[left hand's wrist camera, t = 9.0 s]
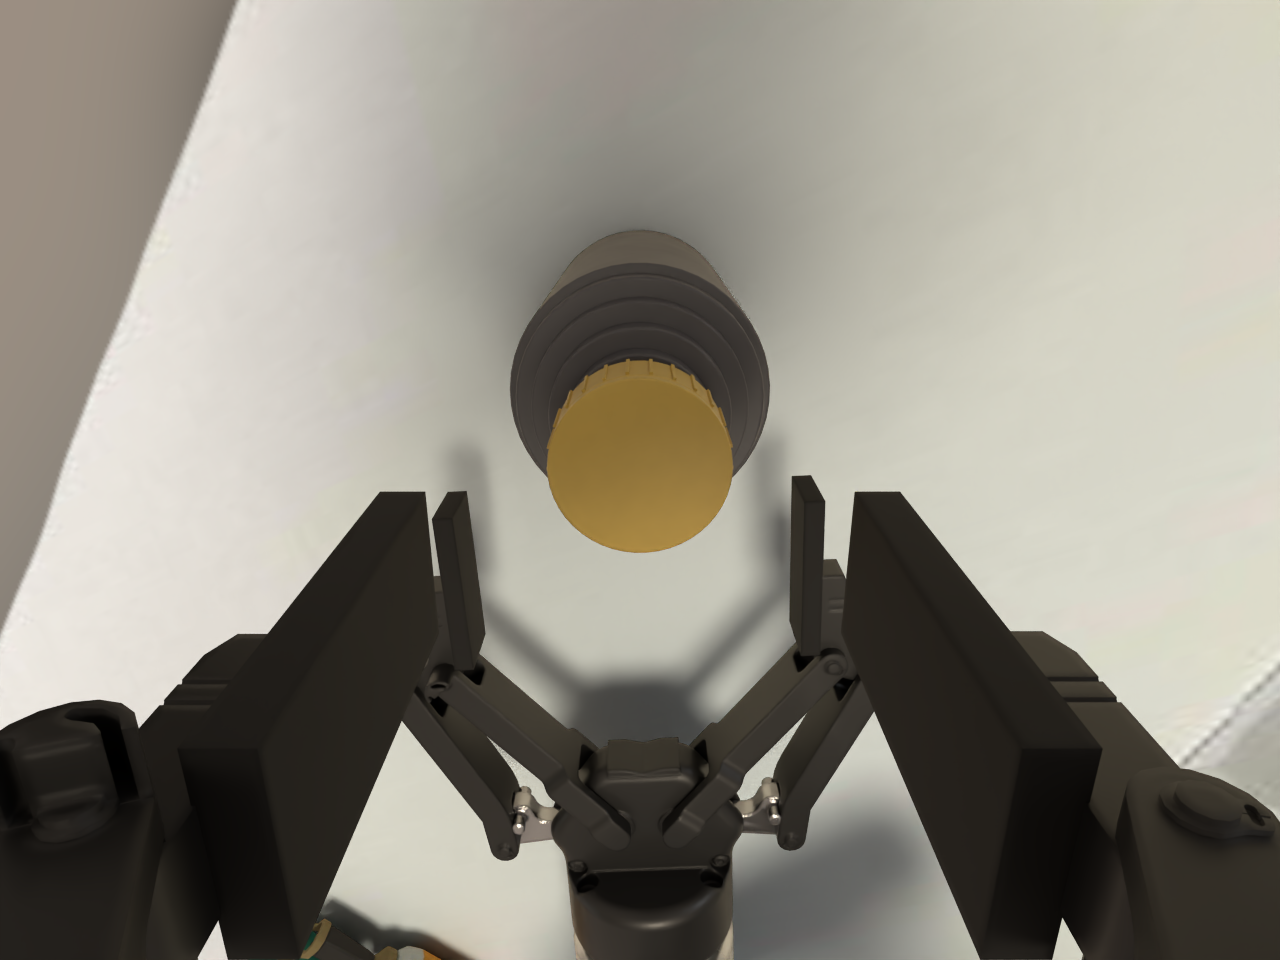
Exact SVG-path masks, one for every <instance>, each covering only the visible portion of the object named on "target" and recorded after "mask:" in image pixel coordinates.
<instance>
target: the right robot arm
mask: <svg viewBox="0 0 1280 960" xmlns="http://www.w3.org/2000/svg"><path fill="white" fill-rule="evenodd" d="M432 523H433V530H434V536H435V543H436V550H437V556H438V563H439V570H440V576H434V586H435V596H436V607H437V617H438V627H439V634H438V637H437V639H436V641H435V644H434V646H433V648H432V651H431V653H430V656H429V658H428V660H427V663H426V665H425V667H424V670H423V672H422V674H421V677H420V679H419V681H418V684H417V686H416V688H415V691H414V693H413V695H412V698H411V700H410V702H409V705H408V707H407V709H406V712H405V714H404V716H403V719H402V721H403V723H404V724H405V725H406V726H407V728H408V729H409V730H410V731H411V733H412V734H413V735H414V736H415V738H416V739H417V740H418V741H419V743H420V744H421V745H422V747H423V748H424V749H425V750H426V752H427V753H428V754H429V755H430V757H431V758H432V759H433V760H434V762H435V763H436V764H437V765H438V767H439V768H440V769H441V770H442V772H443V773H444V774H445V775H446V777H447V778H448V779H449V780H450V782H451V783H452V784H453V785H454V787H455V788H456V789H457V790H458V792H459V793H460V794H461V795H462V797H463V798H464V799H465V800H466V802H467V803H468V804H469V805H470V807H471V808H472V809H473V810H474V812H475V813H476V814H477V815H478V817H479V818H480V819H481V821H482V822H483V825H484V828H485V832H486V835H487V838H488V842H489V845H490V849H491V852H492V854H493V855H494V856H495V857H496V858H497V859H500V860H504V861H508V860H512V859H514V858H515V857H516V856H517V854H518V852H519V847H520V843H528V842H536V841H543V840H551V839H553V840H554V841H555V843H556V844H557V845H558V846H559V847H560V849H561V850H562V851H563V853H564V855H565V858H566V865H567V874H568V884H569V893H570V903H571V912H572V921H573V927H574V943H575V951H576V959H577V960H734V950H733V921H732V915H733V882H732V850H733V847H734V844H735V843H736V841H737V840H738V838H739V837H740V835H741V833H760V834H776V836H777V841H778V844H779V846H780V847H781V848H783V849H784V850H789V851H791V850H796V849H799V848H800V847H801V846H802V845H803V844H804V842H805V839H806V833H807V827H808V821H809V816H810V810H811V808H812V807H813V805H814V804H815V802H816V801H817V799H818V797H819V796H820V794H821V793H822V791H823V790H824V788H825V787H826V785H827V784H828V782H829V780H830V779H831V777H832V776H833V774H834V773H835V771H836V770H837V768H838V766H839V765H840V763H841V762H842V760H843V759H844V757H845V756H846V754H847V752H848V751H849V749H850V748H851V746H852V745H853V743H854V742H855V740H856V739H857V737H858V735H859V734H860V732H861V731H862V729H863V728H864V726H865V725H866V723H867V721H868V720H869V718H870V717H871V715H872V714H873V712H874V709H873V707H872V705H871V702H870V700H869V698H868V695H867V693H866V691H865V688H864V686H863V684H862V681H861V679H860V677H859V674H858V672H857V670H856V667H855V665H854V663H853V660H852V658H851V656H850V653H849V651H848V649H847V646H846V644H845V641H844V639H843V637H842V634H841V627H842V617H843V606H844V596H845V586H846V578H845V576H844V574H843V572H842V570H841V568H840V566H839V564H838V562H837V560H836V559H826V560H823V555H824V524H825V500H824V498H823V496H822V495H821V493H820V491H819V489H818V487H817V485H816V484H815V482H814V480H813V478H812V476H811V475H808V476H792V498H791V558H790V619H789V621H790V624H791V627H792V630H793V633H794V636H795V639H796V643H795V644H794V645H793V646H792V647H791V648H790V649H789V650H788V651H787V652H786V653H785V654H784V655H783V656H782V657H781V659H780V660H779V661H778V662H777V663H776V664H775V665H774V666H773V667H772V668H771V669H770V670H769V671H768V672H767V673H766V674H765V675H764V676H763V677H762V678H761V679H760V680H759V681H758V682H757V683H756V684H755V686H754V687H753V688H752V689H751V690H750V691H749V692H748V693H747V694H746V695H745V696H744V697H743V698H742V699H741V700H740V701H739V702H738V703H737V704H736V705H735V706H734V707H733V708H732V709H731V710H730V712H729V713H728V714H727V715H726V716H725V717H724V718H723V719H722V720H721V721H720V722H719V723H717V724H716V723H711V724H710V725H708V726H707V727H706V728H705V730H704V731H703V732H702V733H701V734H700V735H699V736H698V737H697V738H696V739H695V740H694V741H693V742H692V743H691V744H690V745H689V746H688V745H686V744H683V743H679V742H678V737H673V738H659V739H655V740H651V741H648V742H637V741H631V740H626V739H623V740H608V746H605V747H602V748H600V749H599V748H598V747H596V746H595V745H594V744H593V743H592V742H591V741H589V740H588V739H587V738H586V737H585V736H584V735H583V734H581V733H580V732H579V731H578V730H576V729H574V728H572V729H567V728H565V727H564V726H563V725H562V724H561V723H559V722H558V721H557V720H556V719H555V718H554V717H552V716H551V715H550V714H549V713H548V712H547V711H545V710H544V709H543V708H542V707H541V706H540V705H538V704H537V703H536V702H535V701H534V700H533V699H531V698H530V697H529V696H528V695H527V694H526V693H524V692H523V691H522V690H521V689H520V688H519V687H517V686H516V685H515V684H514V683H513V682H512V681H510V680H509V679H508V678H507V677H506V676H505V675H503V674H502V673H501V672H500V671H499V670H498V669H496V668H495V667H494V666H493V665H492V664H491V663H489V662H488V661H487V660H486V659H485V658H484V657H482V656H481V655H480V654H479V652H480V649H481V646H482V643H483V640H484V637H485V626H484V618H483V611H482V603H481V596H480V588H479V581H478V573H477V566H476V558H475V550H474V543H473V535H472V528H471V520H470V513H469V505H468V498H467V491H459V492H448V493H447V494H446V496H445V498H444V499H443V501H442V503H441V505H440V506H439V508H438V510H437V511H436V513H435V515H434V517H433V518H432ZM806 713H807V714H806ZM805 714H806V715H805ZM804 715H805V717H804V719H803V720H802V722H801V724H800V725H799V727H798V729H797V730H796V732H795V733H794V735H793V737H792V738H791V740H790V742H789V743H788V745H787V747H786V748H785V750H784V751H783V753H782V755H781V757H780V759H779V761H778V762H777V765H776V768H775V770H774V775H773V778H770V777H766V778H764V779H763V780H762V782H761V784H762V786H760V787H759V789H758V790H757V792H756V794H755V795H754V797H752V798H751V799H748V800H740V799H739V796H738V795H737V791H738V790H739V789H740V787H741V785H742V783H743V779H744V776H745V774H746V773H747V772H748V771H749V770H750V769H751V768H752V767H753V766H754V765H755V764H756V763H757V762H758V761H759V760H760V759H761V758H762V757H763V756H764V755H765V754H766V753H767V752H768V751H769V750H770V749H771V748H772V747H773V746H774V745H775V744H776V743H777V742H778V741H779V740H780V739H781V738H782V737H783V736H784V735H785V734H786V733H787V732H788V731H789V730H790V729H791V728H792V727H793V726H794V725H795V724H796V723H797V722H798V721H799V720H800V719H801V718H802V717H803V716H804ZM488 737H489V738H490V739H491V740H492V741H493V742H495V743H496V744H497V745H498V746H500V747H501V748H502V749H503V750H504V751H506V752H507V753H508V754H509V755H510V756H512V757H513V758H514V759H515V760H516V761H518V762H519V763H520V764H521V765H523V766H524V767H525V768H526V769H527V770H529V771H530V772H531V773H532V774H533V775H535V776H536V777H537V778H538V779H539V780H541V781H542V783H543V784H544V787H545V789H546V792H547V794H548V795H549V797H550V798H551V799H552V800H554V801H555V804H554V807H544V806H542V805H540V804H539V803H538V802H537V801H536V799H535V798H534V796H533V795H531V792H532V791H531V789H530V788H529V787H527V786H523V787H519V784H518V781H517V779H516V777H515V775H514V773H513V771H512V770H511V768H510V767H509V765H508V764H507V762H506V761H505V760H504V758H503V757H502V756H501V754H500V753H499V752H498V751H497V749H496V748H495V747H494V745H493V744H492V743H491V741H490V740H489V739H488Z"/></svg>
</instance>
